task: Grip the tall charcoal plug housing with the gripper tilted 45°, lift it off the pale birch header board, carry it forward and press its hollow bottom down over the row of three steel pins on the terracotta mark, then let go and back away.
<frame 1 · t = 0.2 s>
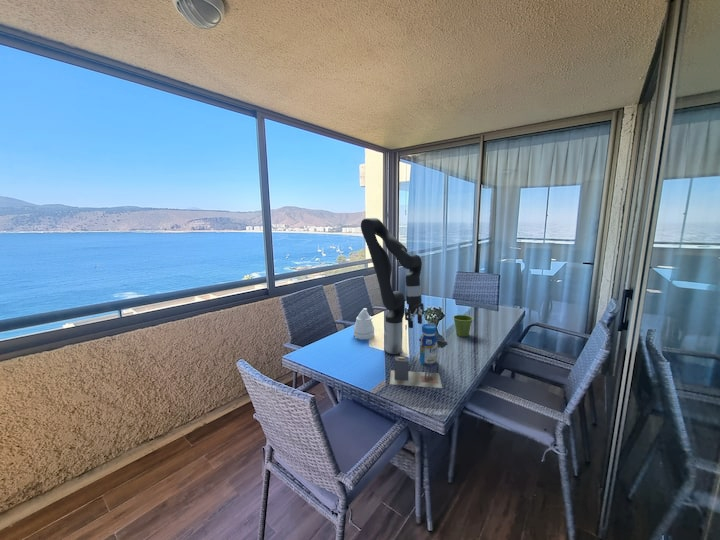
hand: (415, 325, 147), 18 cm above the table, tool pointing down, fingers open, 8 cm apart
plant pot: (462, 335, 181), on the table
header board: (414, 381, 128), on the table
honey pot: (364, 335, 182), on the table
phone: (432, 342, 171), on the table
plug housing: (401, 377, 129), point 1 cm above the table, touching header board
beverage bottle: (428, 364, 144), on the table
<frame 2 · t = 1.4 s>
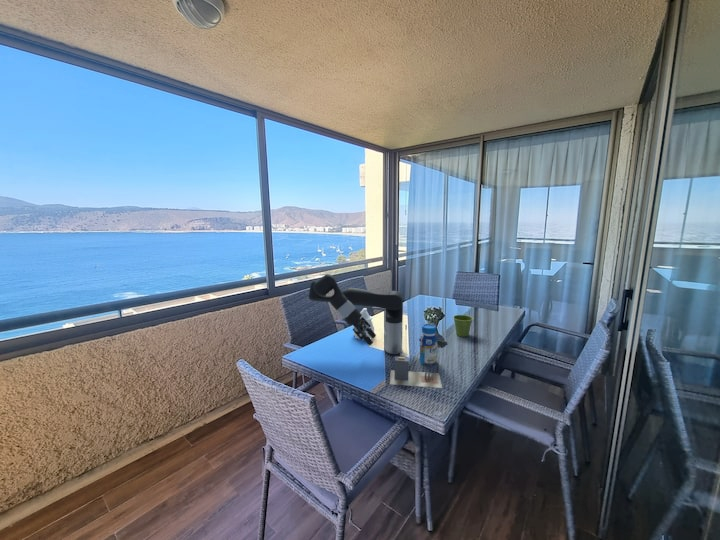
hand: (373, 340, 128), 18 cm above the table, tool tilted 40°, fingers open, 8 cm apart
nothing on the table moved.
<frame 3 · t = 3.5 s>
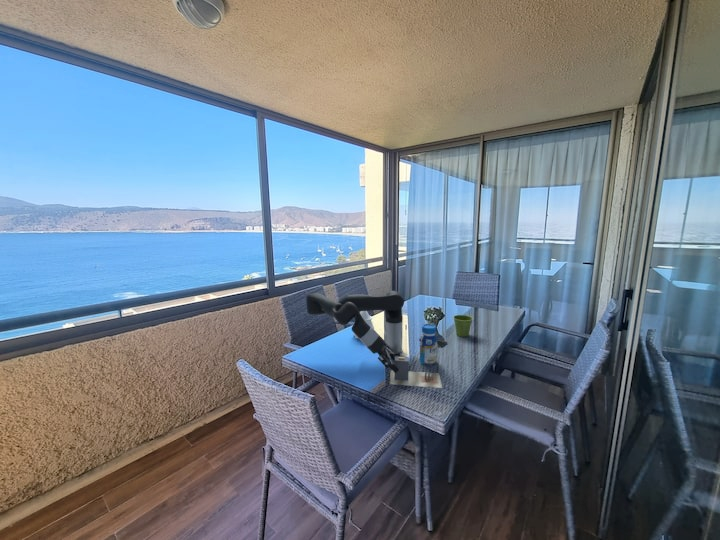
hand: (397, 366, 128), 7 cm above the table, tool tilted 45°, fingers open, 8 cm apart
nothing on the table moved.
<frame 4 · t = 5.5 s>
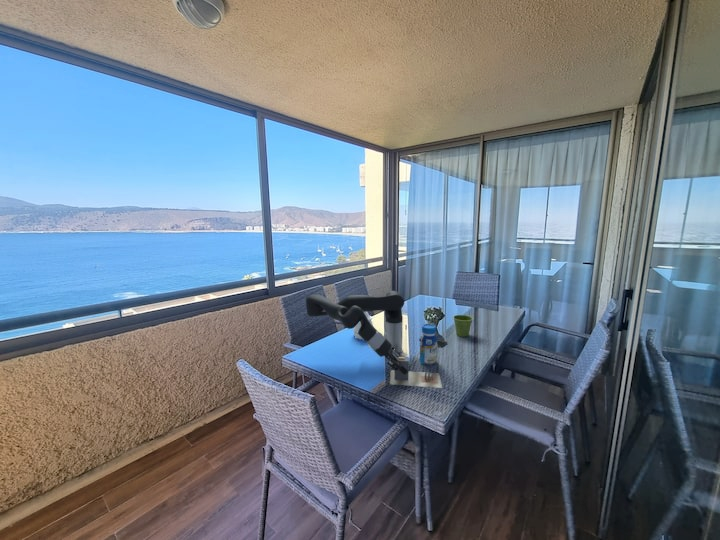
hand: (406, 370, 128), 5 cm above the table, tool tilted 45°, fingers closed on plug housing, 4 cm apart
plug housing: (401, 377, 129), point 2 cm above the table, touching gripper, header board
everything else where it was.
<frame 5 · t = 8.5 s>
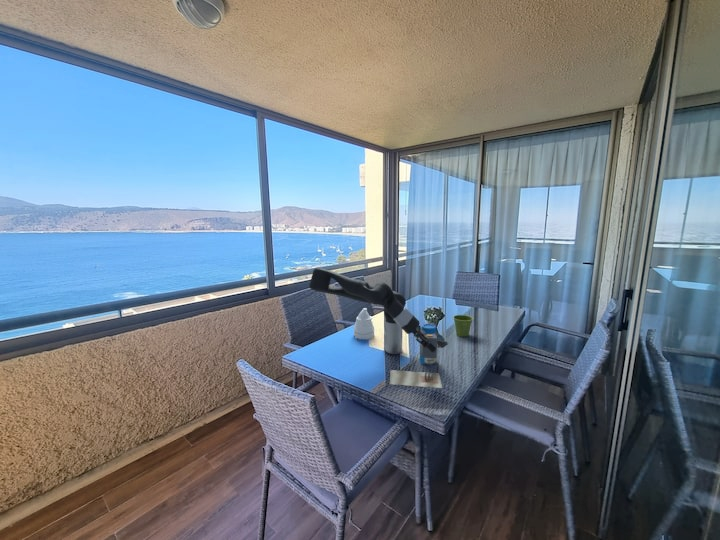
hand: (433, 348, 125), 16 cm above the table, tool tilted 45°, fingers closed on plug housing, 4 cm apart
plug housing: (428, 355, 125), point 13 cm above the table, touching gripper
everything else where it was.
when the fingers open (5 cm above the table, at t = 11.7 s): plug housing stays where it is, resting on header board.
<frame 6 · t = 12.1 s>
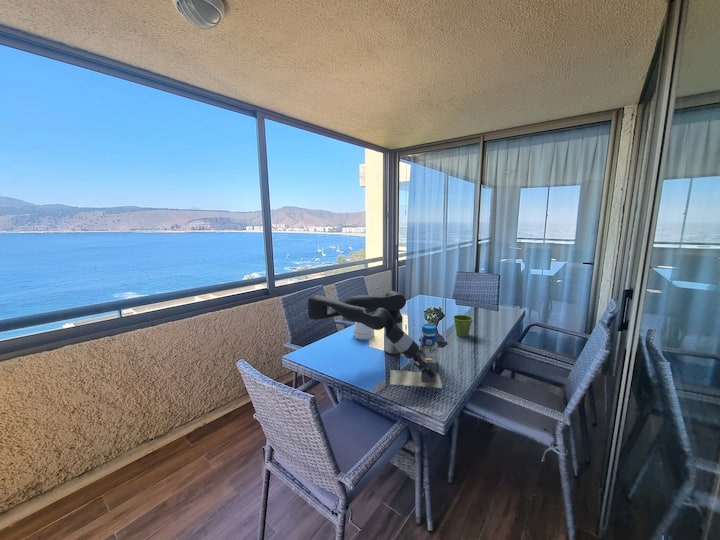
hand: (432, 371, 126), 5 cm above the table, tool tilted 45°, fingers open, 8 cm apart
plug housing: (428, 379, 127), point 2 cm above the table, touching header board
everything else where it was.
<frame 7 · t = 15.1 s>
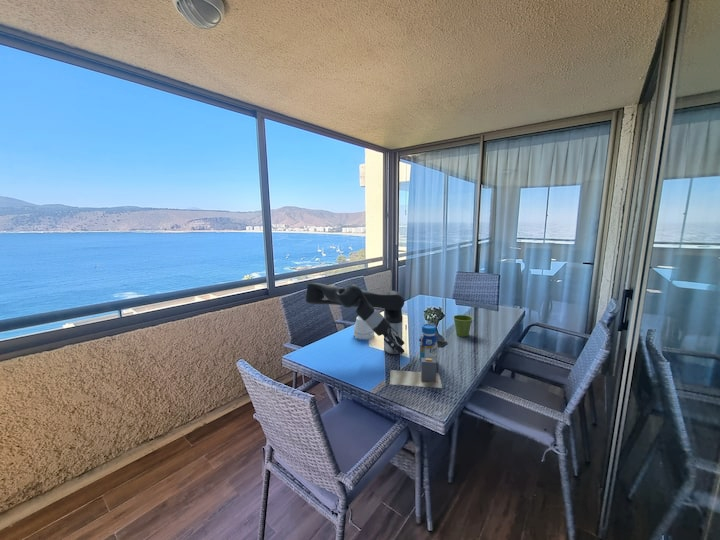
hand: (403, 348, 127), 15 cm above the table, tool tilted 45°, fingers open, 8 cm apart
nothing on the table moved.
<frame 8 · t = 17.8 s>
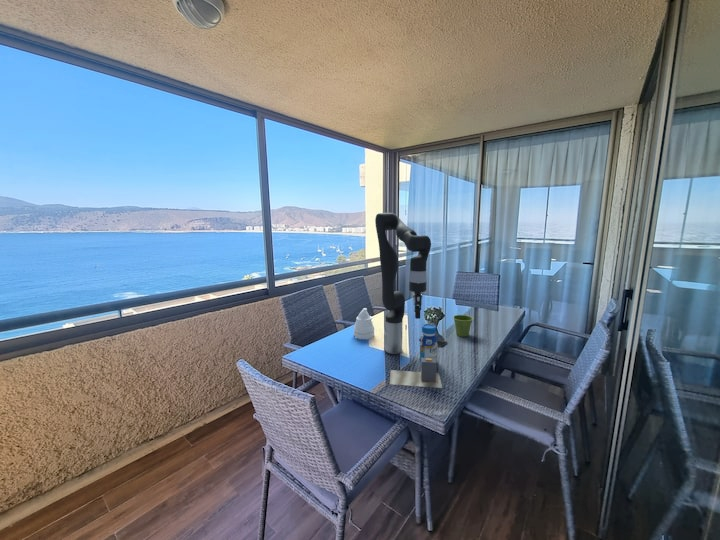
hand: (417, 315, 132), 28 cm above the table, tool pointing down, fingers open, 8 cm apart
nothing on the table moved.
at the end: plug housing 0.3 cm from the target spot on the header board, point 1.6 cm above the header board's base; plug housing tilted 0°; the gripper is holding nothing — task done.
